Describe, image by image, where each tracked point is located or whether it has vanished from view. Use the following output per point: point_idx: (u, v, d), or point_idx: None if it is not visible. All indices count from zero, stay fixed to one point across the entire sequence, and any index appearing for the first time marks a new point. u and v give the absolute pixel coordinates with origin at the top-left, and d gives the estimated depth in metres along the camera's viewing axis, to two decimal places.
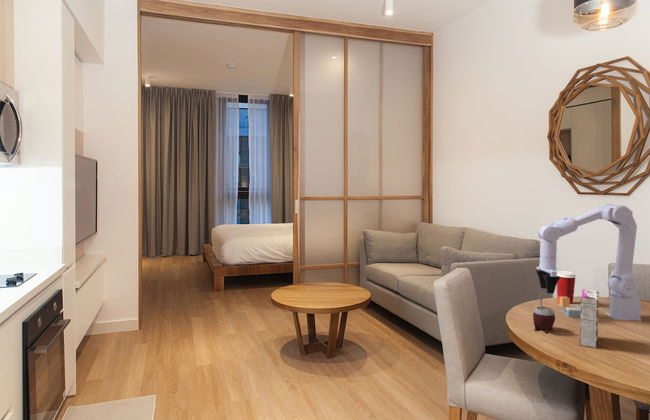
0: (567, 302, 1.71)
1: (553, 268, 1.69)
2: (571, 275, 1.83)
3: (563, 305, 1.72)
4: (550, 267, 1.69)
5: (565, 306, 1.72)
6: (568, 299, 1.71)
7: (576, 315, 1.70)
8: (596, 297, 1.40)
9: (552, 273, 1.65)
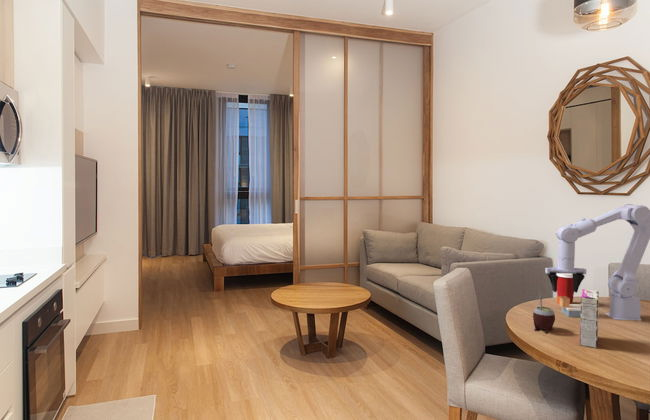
0: (567, 302, 1.71)
1: (560, 268, 1.71)
2: (571, 275, 1.83)
3: (563, 305, 1.72)
4: (558, 266, 1.72)
5: (565, 306, 1.72)
6: (568, 299, 1.71)
7: (576, 315, 1.70)
8: (596, 297, 1.40)
9: (545, 269, 1.73)
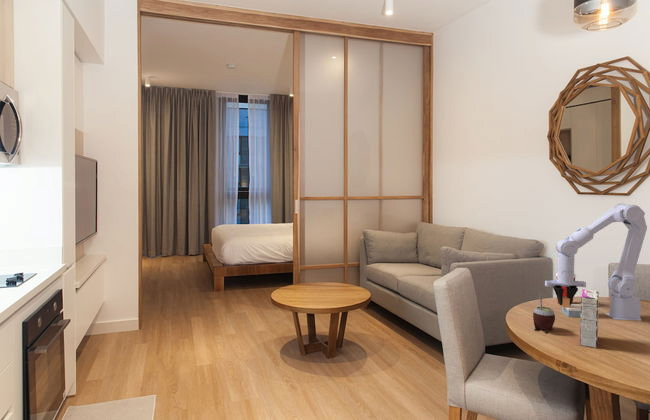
0: (567, 302, 1.71)
1: (559, 281, 1.71)
2: None
3: (563, 305, 1.72)
4: (557, 279, 1.72)
5: (565, 306, 1.72)
6: (568, 299, 1.71)
7: (576, 315, 1.70)
8: (596, 297, 1.40)
9: (545, 282, 1.74)
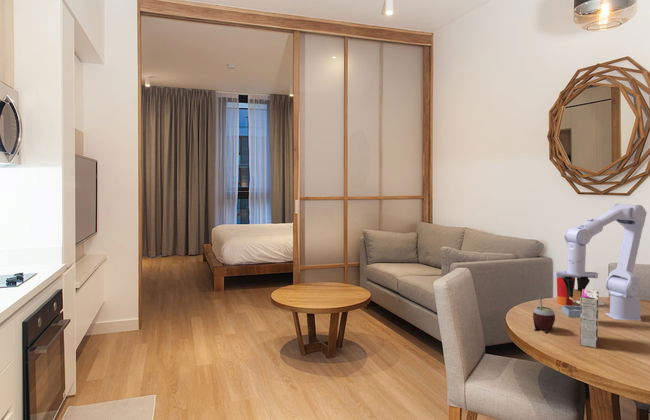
0: (578, 295, 1.61)
1: (569, 272, 1.61)
2: None
3: (573, 298, 1.62)
4: (568, 270, 1.62)
5: (575, 299, 1.62)
6: (579, 292, 1.61)
7: (576, 315, 1.70)
8: (596, 297, 1.40)
9: (554, 273, 1.64)
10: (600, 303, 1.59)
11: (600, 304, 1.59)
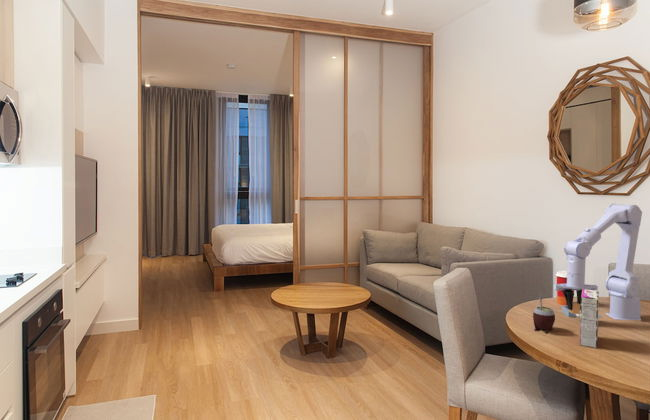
0: (578, 308, 1.62)
1: (569, 285, 1.61)
2: None
3: (573, 311, 1.62)
4: (567, 283, 1.62)
5: (575, 312, 1.62)
6: (578, 305, 1.61)
7: None
8: (596, 297, 1.40)
9: (554, 286, 1.64)
10: (600, 316, 1.59)
11: (600, 317, 1.59)
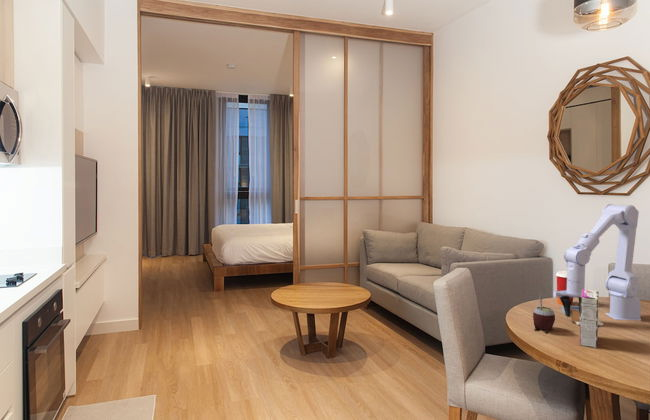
0: (577, 316, 1.62)
1: (569, 292, 1.62)
2: None
3: (573, 319, 1.62)
4: (567, 290, 1.63)
5: (575, 320, 1.62)
6: (578, 312, 1.62)
7: None
8: (596, 297, 1.40)
9: (554, 293, 1.64)
10: (599, 323, 1.59)
11: (599, 324, 1.59)
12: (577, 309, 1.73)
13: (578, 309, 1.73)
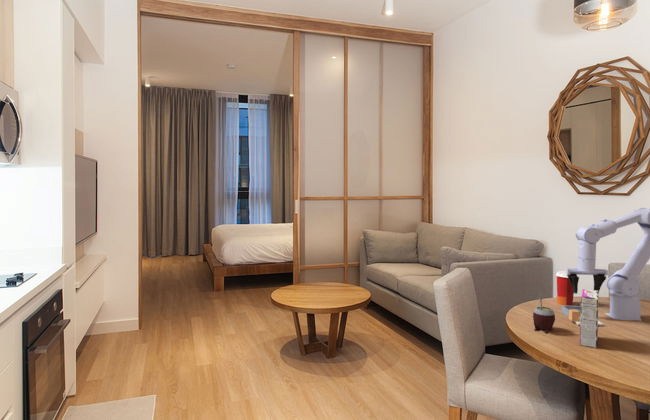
0: (577, 316, 1.62)
1: (580, 269, 1.67)
2: None
3: (573, 319, 1.62)
4: (578, 267, 1.68)
5: (575, 320, 1.62)
6: (578, 312, 1.62)
7: None
8: (596, 297, 1.40)
9: (565, 270, 1.70)
10: (599, 323, 1.59)
11: (599, 324, 1.59)
12: (576, 309, 1.74)
13: (577, 309, 1.74)
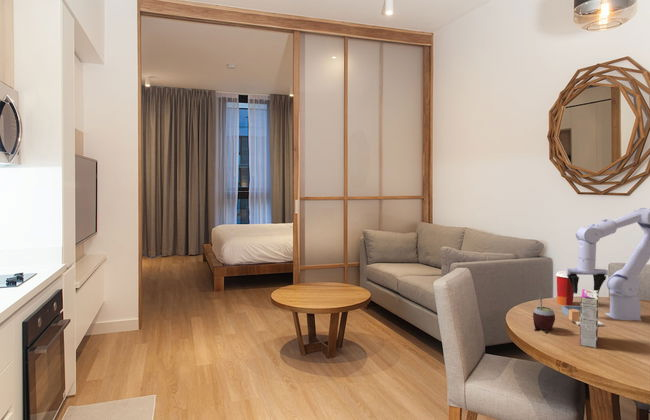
0: (577, 316, 1.62)
1: (580, 269, 1.67)
2: None
3: (573, 319, 1.62)
4: (578, 267, 1.68)
5: (575, 320, 1.62)
6: (578, 312, 1.62)
7: None
8: (596, 297, 1.40)
9: (565, 270, 1.70)
10: (599, 323, 1.59)
11: (599, 324, 1.59)
12: None
13: (576, 309, 1.75)
